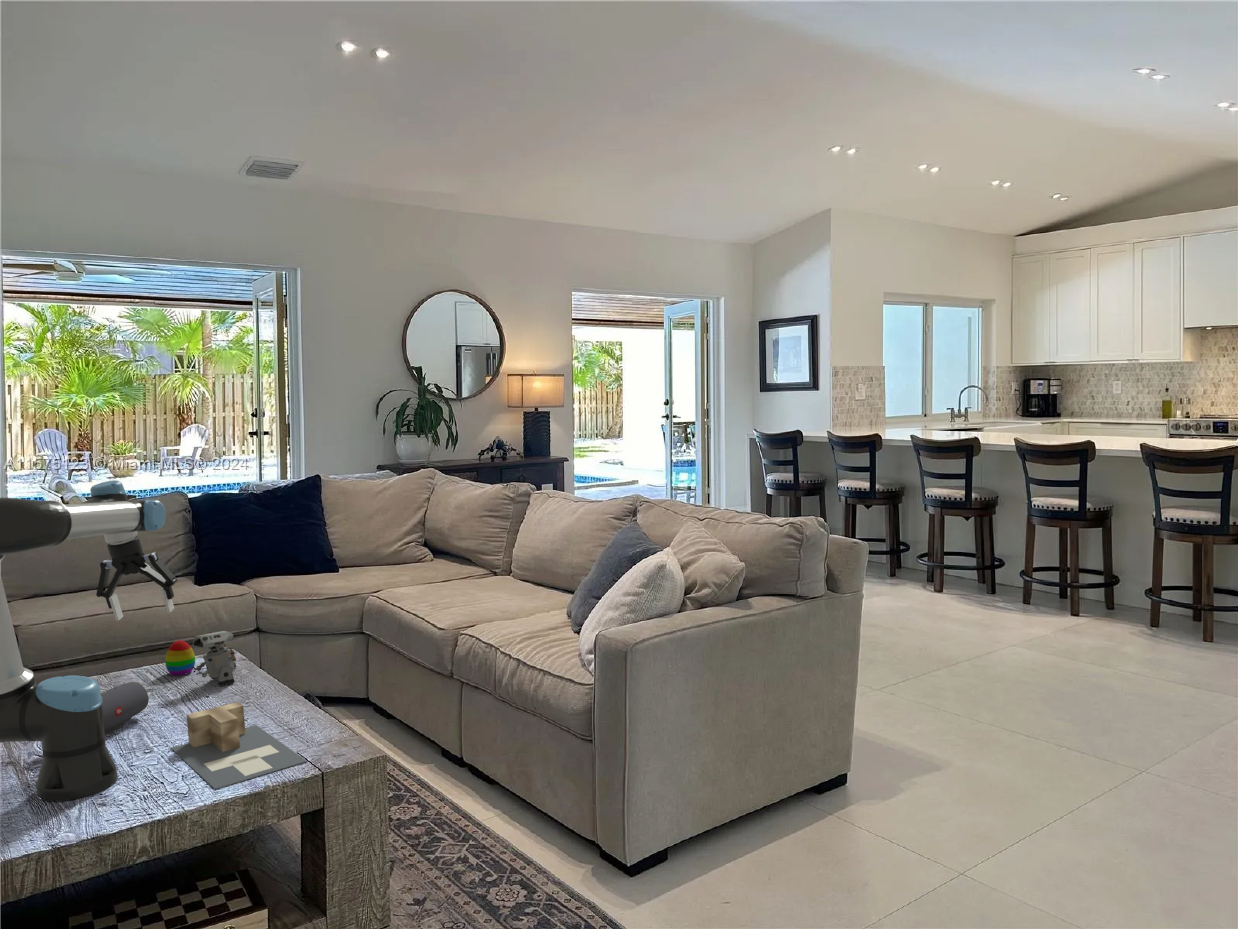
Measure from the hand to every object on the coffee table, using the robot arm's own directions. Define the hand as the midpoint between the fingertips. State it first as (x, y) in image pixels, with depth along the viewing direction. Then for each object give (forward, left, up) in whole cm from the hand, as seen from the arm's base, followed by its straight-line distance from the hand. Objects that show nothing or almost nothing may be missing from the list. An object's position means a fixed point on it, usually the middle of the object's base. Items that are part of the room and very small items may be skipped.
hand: (145, 614), depth 244 cm
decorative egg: (+16, +30, -26) cm, 43 cm away
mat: (+6, -49, -26) cm, 55 cm away
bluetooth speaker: (-13, -9, -26) cm, 31 cm away
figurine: (+20, +11, -26) cm, 35 cm away
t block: (+6, -39, -26) cm, 47 cm away
